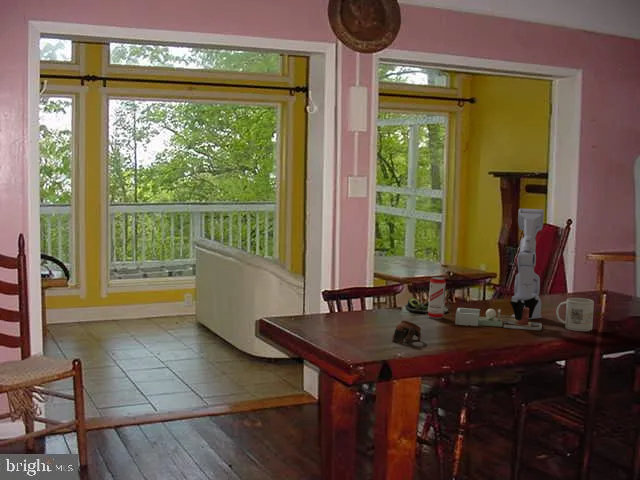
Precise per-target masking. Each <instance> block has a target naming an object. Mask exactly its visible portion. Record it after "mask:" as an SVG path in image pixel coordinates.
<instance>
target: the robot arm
mask: <svg viewBox="0 0 640 480" xmlns="http://www.w3.org/2000/svg"><path fill="white" fill-rule="evenodd" d="M517 214H518V216H517V223H518V229H519V230H521V231H523V233H524V234H523V235H524V236H523V237H522V238H521V239H520V246H519V252H518V254H517V272H518V273H517V274H515V278H514V279H515V280H514V287H513V291H514V292H513V293H514V295H513V296H511V300H510V301H509V303H510V306H511V308H512V310H513V314H511V316H515V320H521V318H522V312H523V308H524V307H525V308H529V320H533V319H534V320H535V319H541V318H543V316H542V315H541V314H542V313H541V312H542V299H541V298H540V297H539V295H540V291H541V290H540V289H541V278H540V275H539V274H537V273H536V272H535V268H536V264H537V263H536V261H537V254H536V247H537V240H536V237H537V234H538V232H539V231H543V227H544V218H545V210H544V209H543V208H541V209H539V208H537V209H535V208H521V207H520V208H519V209H518V213H517Z"/></svg>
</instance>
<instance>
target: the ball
mask: <svg viewBox="0 0 640 480" xmlns="http://www.w3.org/2000/svg"><path fill="white" fill-rule="evenodd" d="M496 316H497V312H496V310H495V309H493V308H488V309H487V310H486V312H485V317H487V318H488V319H494V318H497V317H496Z"/></svg>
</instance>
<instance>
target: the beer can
mask: <svg viewBox="0 0 640 480" xmlns="http://www.w3.org/2000/svg"><path fill="white" fill-rule="evenodd" d="M446 284H447V282H446V280H445V277H442V276H432V277H431V279H430V282H429V293H428V302H429V306H428V314H427V316H428V317H429V318H431V319H435V320H441V319H443V317H444V316H445V313H444V305H445V304H446V303H445V302H446V288H447V287H446Z"/></svg>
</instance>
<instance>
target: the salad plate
mask: <svg viewBox="0 0 640 480" xmlns="http://www.w3.org/2000/svg"><path fill="white" fill-rule="evenodd" d="M428 306H429V301H426V302H425V303H421V302H420V300H419V299H417V298H414V297H411V298H409V299H408V301H407V303H406V304H405V309H406V310H407V311H408V312H410V313H413V314H418V315H419V314H422V315H428ZM451 307H452V305H445V304H444V314H445V313H447V312H448V311H449V309H448V308H451Z"/></svg>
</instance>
